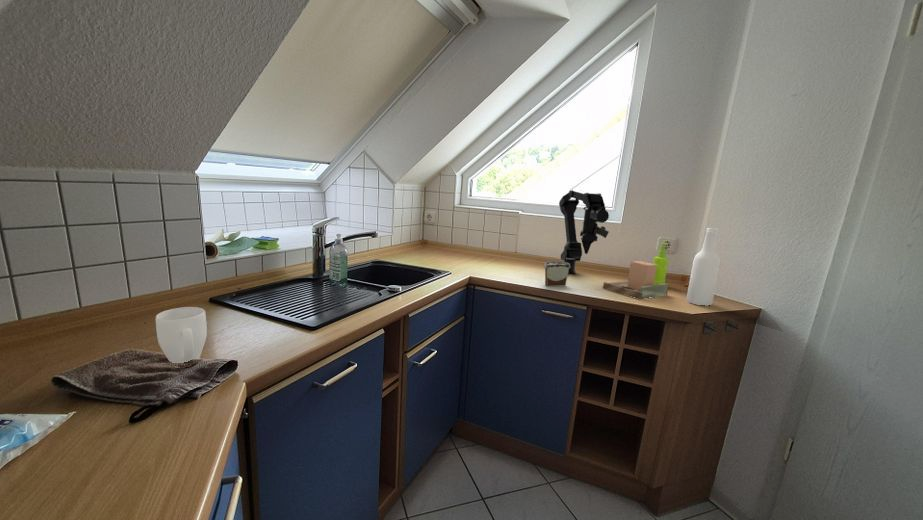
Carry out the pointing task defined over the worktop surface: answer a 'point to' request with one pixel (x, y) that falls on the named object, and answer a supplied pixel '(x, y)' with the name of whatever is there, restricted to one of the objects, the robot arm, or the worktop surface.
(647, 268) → the block
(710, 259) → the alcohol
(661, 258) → the soap dispenser
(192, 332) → the mug
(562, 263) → the food container
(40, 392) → the worktop surface
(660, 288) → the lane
